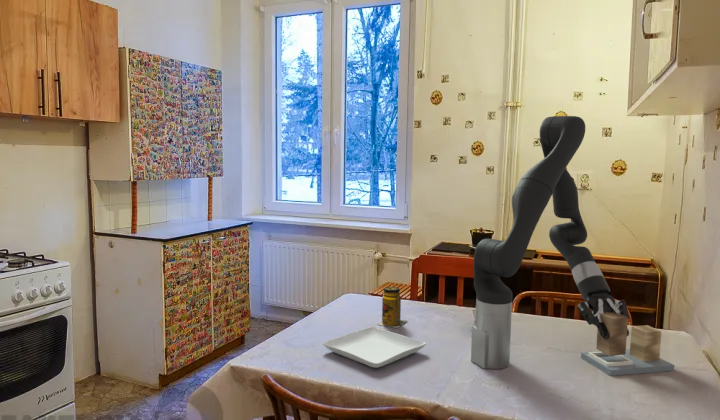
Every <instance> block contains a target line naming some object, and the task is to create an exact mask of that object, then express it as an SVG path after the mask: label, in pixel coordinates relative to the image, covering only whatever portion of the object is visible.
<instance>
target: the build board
mask: <svg viewBox="0 0 720 420" xmlns="http://www.w3.org/2000/svg"><path fill="white" fill-rule="evenodd" d="M580 359H582V360H584V361H586V362H587V363H589V364H590V365H592V366H593V367H595V368H597V369H599V370H600V371H602V372H604V373H605V374H607V375H608V376H610V377H611V376H625V375H636V374H637V375H638V374H650V373H651V374H652V373H664V372H674V371H675V367H676V366H675V364H673V363H671V362H669V361H667V360H665V359H663V358H661V357H659V360H657V361H644V362H643V361H641V360H639V359H637V358H635V357H633V356H632V355H630V348H629V349H627V348H626V354H625V355H612V356H608V355H607V354H605V353H603V352H601V351H599V350H598V351H586V352H585V351H584V352H580Z"/></svg>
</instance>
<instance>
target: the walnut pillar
mask: <svg viewBox="0 0 720 420" xmlns="http://www.w3.org/2000/svg"><path fill="white" fill-rule="evenodd" d="M601 316H602V318H603V323H605V325H606V327H607V330H608V332H609V334H610V337H609V338H607V339H604V338H603V337H602V336H601V335H600V333H599V331H598V328H597V330H596V332H597V333H596V350H598V351H601V352H603V353H605V354H607V355H608V356H612V355H625V354H626V349H627V338H628V336H627V328H628V323H629V319H628V317H626V316H623V315H621V314H619V313H614V311H613V312H603V314H601Z"/></svg>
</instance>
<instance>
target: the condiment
mask: <svg viewBox="0 0 720 420" xmlns="http://www.w3.org/2000/svg"><path fill="white" fill-rule="evenodd" d="M381 300H382V301H381V306H382V307H381V311H382V312H381V314H382V315H381V322H380V323H377V325H379V326H382V327H389V328H395V329H398V328H400V327H401V326H403V325H404V324H405V323H407V321H408V320H406V319H405V320H404V319H401V312H402V311H401V305H402V304H401V303H402V302H401V301H402V297H401V290H400V288H399V287H396V286H386V287H384V288H383V296H382V299H381Z"/></svg>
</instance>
